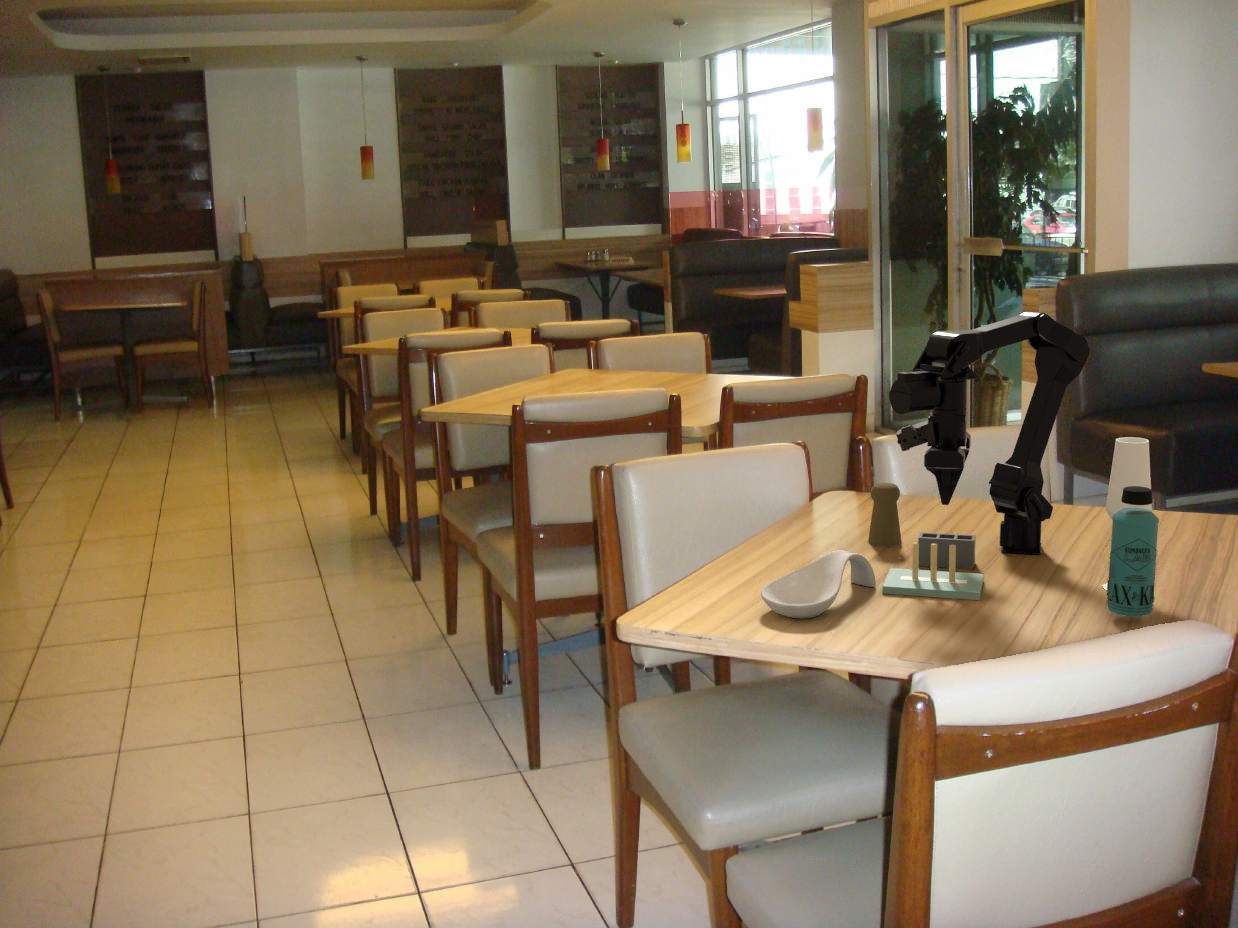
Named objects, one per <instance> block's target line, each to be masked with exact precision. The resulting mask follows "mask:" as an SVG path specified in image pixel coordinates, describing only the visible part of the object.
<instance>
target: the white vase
mask: <svg viewBox="0 0 1238 928" xmlns="http://www.w3.org/2000/svg"><path fill="white" fill-rule="evenodd" d="M1150 461H1151V459H1150V440H1149V439H1147V438H1143V437H1133V436H1129V437H1127V436H1126V437H1123V436H1122V437H1118V438H1115V442H1114V450H1113V457H1112V464H1111V470H1110V476H1109V477H1110V478H1109V483H1108V484H1109V485H1108V490H1107V495H1106V497H1107V498H1106V503H1105V511H1106V513H1107V515H1108V516H1109V517H1110V519H1111V520H1112V517H1113V515H1114V514H1115V513H1117V512H1118V511H1119V510H1121V509H1123V508H1143V509H1148V510H1150V511H1152V512H1153V503H1152V504H1149V505H1131V504H1126V503H1123V502H1122V501H1121V499H1122V494H1123V488H1125V487H1129V486H1141V487H1147V488H1150V489H1151V490H1152V482H1151V481H1152V480H1151V462H1150ZM1107 583H1108V582H1106V584H1105V583H1103V584H1102V586H1103V588H1104V589H1105V590H1104V589H1103V588H1102V589H1103V590H1104V591H1106V590H1107Z"/></svg>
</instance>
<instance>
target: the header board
mask: <svg viewBox="0 0 1238 928" xmlns="http://www.w3.org/2000/svg"><path fill="white" fill-rule="evenodd" d="M911 553H912V555H911V556H912V560H911V561H912V562H911V569H909V568H908V569H907V568H896V567H895V568H892V567H890V569H889V570H888V573H887V575H886V577H885V580H884V582H883V584H882V590H881V593H882V594H883V595H884V594H886V595H888V594H889V595H898V596H900V595H901V596H913V597H914V596H915V597H930V598H942V599H943V598H944V599H945V598H946V599H960V600H970V601H980V600H981V596H982V595H981V594H982V589H983V584H984V573H975V572H973V573H972V572H956V568H955V567H956V545H949V568H948V571H943V570H942V571H940V570H938V567H937V544H931V567H930V570H929V569H928V570H925V569H920V568H919V567H920V566H919V543H918V542H913V543H912V551H911Z"/></svg>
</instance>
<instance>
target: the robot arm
mask: <svg viewBox="0 0 1238 928" xmlns="http://www.w3.org/2000/svg"><path fill="white" fill-rule="evenodd" d="M1024 341H1026V342H1027V345H1028V346H1029V347H1030V348H1031V349H1032V350H1034V351H1035V357H1034V367H1035V372H1036V376H1037V378H1036V379H1037V380H1036V384H1035V386H1034V389H1033V393H1032V396H1031V399H1030V401H1029V404H1028V407H1027V410H1026V413H1025V416H1024V419H1023V421H1022V426H1021V428H1020V431H1019V434H1018V437H1017V439H1016V443H1015V446H1014V449H1013V452H1012V455H1011V456H1010V457H1009V458H1008V459H1007V460H1006V461H1005V462H1004V463H1003V462H1000V461H999V462H996V464H995V466H994V469H993V474H992V476H991V478H990V480H989V481H988V484H989V485H990V487H989V495H990V498H991V500H992V501H993V506H994V508H995V511H996V513H999V514H1003V520H1001V521H1000V524H999V525H1000V526H999V528H1000V529H999V546H1000V547H1001V552H1002V553H1010V554H1012V553H1013V554H1026V555H1029V554H1030V555H1042V542H1041V541H1042V522H1045V521H1046V520H1049V519H1051V518H1052V517H1051V516H1052V513H1053V510H1054V506H1053V505H1052V504H1051V503H1050V502H1049V500H1048V499H1047V498H1046V497H1045V496H1044V495H1043V494H1042V493H1043V488H1044V483H1045V481H1044V480H1045V479H1044V476H1043V471H1042V466H1041V464H1042V461H1043V458H1044V454H1045V452H1046V448H1047V446H1048V442H1049V441H1050V437H1051V435H1052V431H1053V428H1054V425H1055V421H1056V420H1057V416H1058V414H1059V413H1058V412H1059V409H1060V407H1061V404H1062V401H1063V398H1064V395H1065V392H1066V389H1067V387H1068V386H1069V384H1071V383H1073V381H1074V380H1075V379H1076V378H1077V377H1078V376H1080V374H1081V372H1082V371H1083V369H1084V366H1085V364H1087V363H1086V362H1087V360H1088V358H1089V355H1090V351H1091V347H1090V346H1089V344H1088V341H1087V339H1086V338H1085V337H1084V336H1083V335H1081V334H1079V333H1078V334H1077V333H1076V332H1075V331H1073V330H1072V329H1070V328H1068V327H1066V326H1065V325H1063V324H1061V323H1059V322H1058V321H1056V320H1055V319H1054V318H1052V317H1051V316H1050V315H1048V313H1045V312H1038V311H1024V312H1022V313H1021V314H1019V315H1016V316H1012V317H1009V318H1006V319H1002V320H1000V321H999V320H998V321H996V322H992V323H990V324H989V323H988V324H985V325H983V326H980V327H976V328H973V329H961V330H960V329H959V330H958V329H957V330H955V329H954V330H951V329H950V330H941V331H935V332H934V333H931V335H930V336H929V339H928V340H927V342H926V346H925V347H924V349H923V351H922V352H921V354H920V356H919V358H918V360H917V361H916V363H915V365H914V366H913V368H912V370H911V372H909V371H907V372H906V371H899V372H897V380H895V381H894V382H893V383H892V384H891V387H890V391H888V396H889V397H888V398H889V399H888V400H889V403H890V406H891V409H893V411H894V412H895V413H896V414H898V415H905V414H913V413H921V412H927V411H930V413H929V415H928V417H927V420H924V421H922V422H918V423H915V424H909V425H908V426H902V428H900V429H898V430H897V431H896V433H895V436H896V438H897V441H896V442H897V444H898V445H899V447H900V449H901V452H906V451H909V450H910V449H912V448H915V447H918V446H921V445H924V444H926V443H927V447H929V448H928V449H927V450H926V451H925V454H924V455H923V456H924V457H923V459H924V460H923V461H924V463H923V465H924V467H925V469H926V471H928V472H930V473H931V474H932V475H933V476H934V477H935V481H936V484H937V488H938V489H937V490H938V493H939V498H940V502H941V505H943V506H948V505H950V503H951V500H952V498H953V496H954V493H955V491H956V487H957V485H958V483H959V481H960V478H961V476H962V474H963V472H964V468H965V463H966V460H967V458H968V457H969V452H970V449H971V443H972V440H971V439H972V436H971V434H970V433H969V432H968V431H967V419H968V411H967V408H968V407H967V404H968V403H967V399H968V396H967V395H968V381H969V380H976V379H978V377H979V375H978V374H977V373H976V372H975V371H974V370H973V369H971V367H970V365H971V366H972V365H973V364H975V363H976V362H978V361H979V360H980V359H981V358H982V356H983V355H986V353H988V352H989V353H990V352H992V351H995V350H998V349H1001V348H1004V347H1008V346H1010V345H1014V344H1016V343H1021V342H1024ZM963 447H965V448H963Z"/></svg>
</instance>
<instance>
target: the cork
mask: <svg viewBox="0 0 1238 928" xmlns="http://www.w3.org/2000/svg"><path fill="white" fill-rule="evenodd" d="M900 495H901V491H900V488H899V486H898V485H897V484H895V483H892V482H878V483H876V484H873V486H872V487H871V489H870V497H871V500H872V501H873V504H872V511H871V512H872V513H871V519H870V525H869V533H868V538H867V539H868V540H867V543H869V544H870V545H873V546H876V547H877V546H878V547H895V546H900V545H901V544H902V542H903V541H902V534H901V533H902V532H901V526H900V518H899V509H898V503H897V502H898V500H899V498H900Z"/></svg>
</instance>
